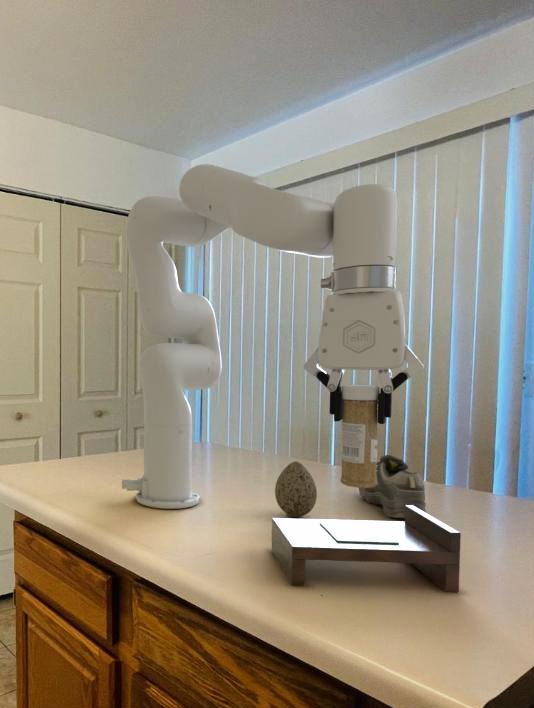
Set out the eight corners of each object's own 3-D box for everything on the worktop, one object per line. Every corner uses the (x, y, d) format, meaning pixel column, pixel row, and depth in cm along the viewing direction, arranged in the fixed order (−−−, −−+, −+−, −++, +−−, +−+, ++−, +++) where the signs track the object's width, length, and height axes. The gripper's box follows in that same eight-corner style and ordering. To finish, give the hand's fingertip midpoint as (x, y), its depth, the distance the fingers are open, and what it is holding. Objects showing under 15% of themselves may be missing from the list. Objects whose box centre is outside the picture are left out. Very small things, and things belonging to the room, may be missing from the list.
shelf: (291, 585, 66) (292, 527, 65) (271, 550, 78) (272, 501, 77) (459, 592, 64) (461, 532, 64) (411, 555, 76) (413, 505, 76)
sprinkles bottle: (384, 487, 69) (387, 385, 68) (354, 489, 68) (357, 386, 67) (361, 479, 73) (363, 384, 72) (332, 481, 72) (334, 384, 71)
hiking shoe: (400, 482, 111) (374, 434, 110) (453, 524, 90) (422, 465, 89) (359, 502, 112) (333, 455, 111) (403, 547, 92) (371, 489, 91)
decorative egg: (307, 524, 90) (308, 467, 89) (268, 516, 94) (268, 462, 94) (321, 515, 95) (323, 461, 95) (283, 508, 100) (284, 456, 99)
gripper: (290, 285, 70) (287, 420, 71) (438, 275, 61) (433, 429, 62) (302, 291, 77) (300, 415, 78) (438, 283, 68) (434, 423, 69)
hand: (359, 420), depth 70 cm, fingers closed on sprinkles bottle, 4 cm apart
